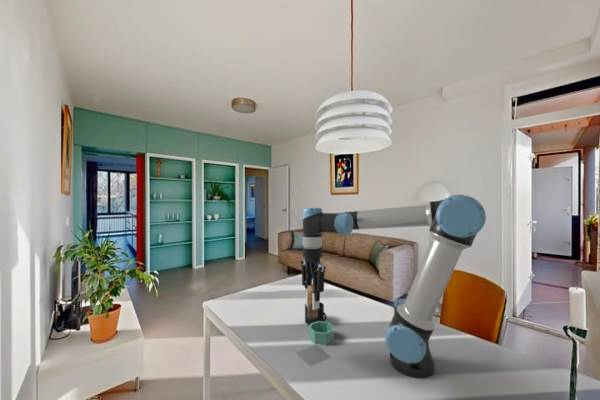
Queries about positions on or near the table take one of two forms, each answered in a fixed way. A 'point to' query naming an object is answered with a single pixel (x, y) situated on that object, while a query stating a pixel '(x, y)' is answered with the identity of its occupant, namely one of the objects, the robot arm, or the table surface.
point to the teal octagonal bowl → (321, 333)
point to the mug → (320, 315)
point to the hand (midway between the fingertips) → (312, 306)
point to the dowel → (311, 303)
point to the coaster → (313, 355)
